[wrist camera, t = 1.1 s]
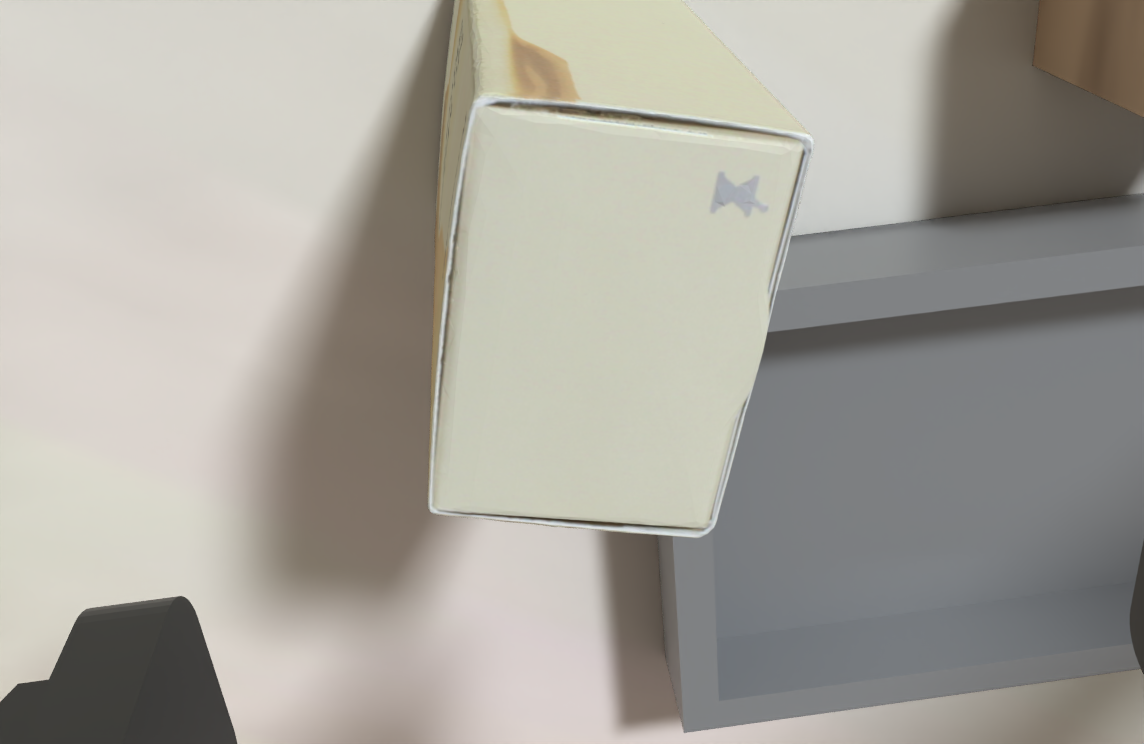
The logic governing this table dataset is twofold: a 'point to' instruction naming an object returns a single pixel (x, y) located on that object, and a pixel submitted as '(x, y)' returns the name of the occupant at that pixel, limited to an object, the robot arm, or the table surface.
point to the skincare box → (601, 263)
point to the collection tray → (926, 472)
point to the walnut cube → (1094, 47)
